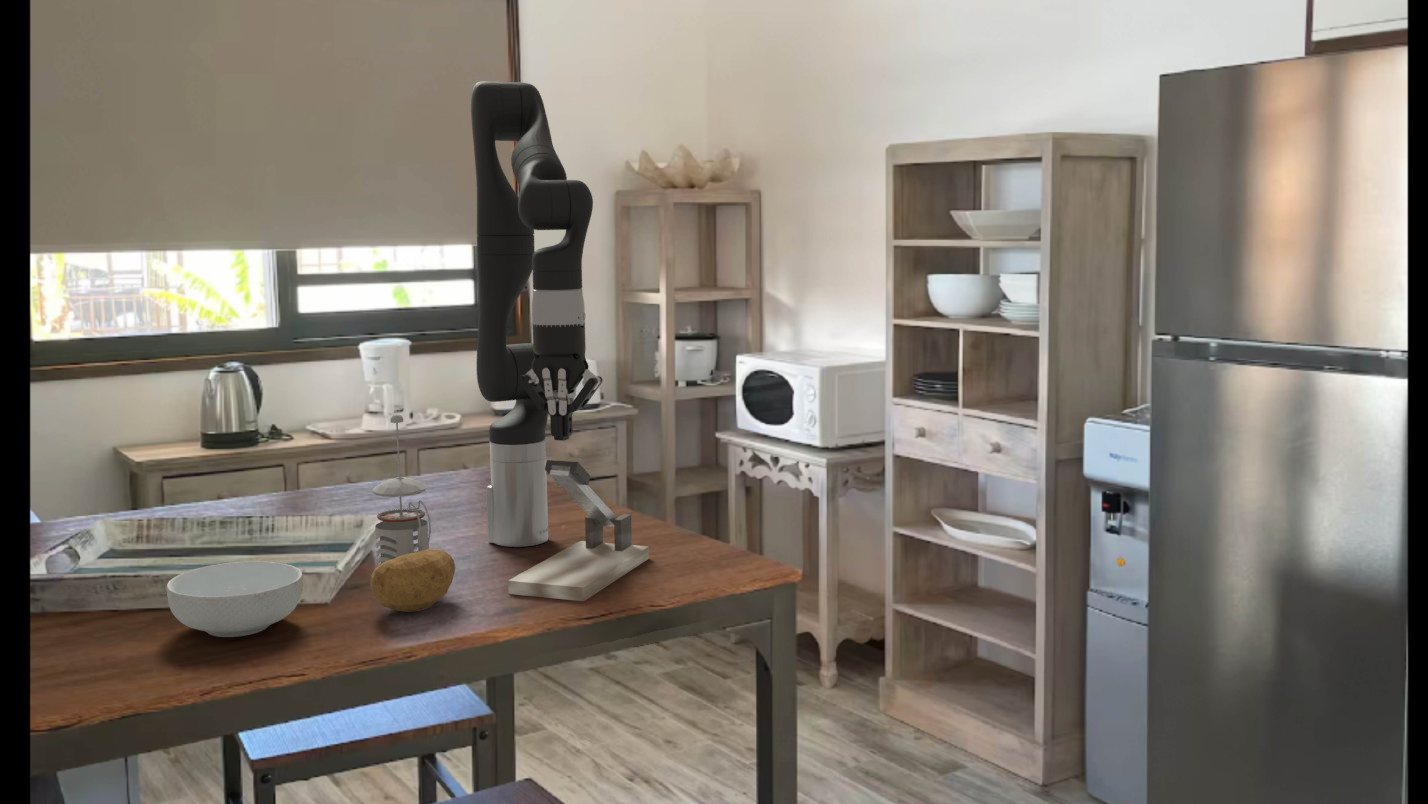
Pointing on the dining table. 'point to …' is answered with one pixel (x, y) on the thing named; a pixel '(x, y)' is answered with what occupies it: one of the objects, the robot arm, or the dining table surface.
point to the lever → (580, 490)
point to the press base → (583, 565)
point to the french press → (401, 516)
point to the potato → (413, 580)
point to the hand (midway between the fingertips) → (562, 439)
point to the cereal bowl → (235, 596)
